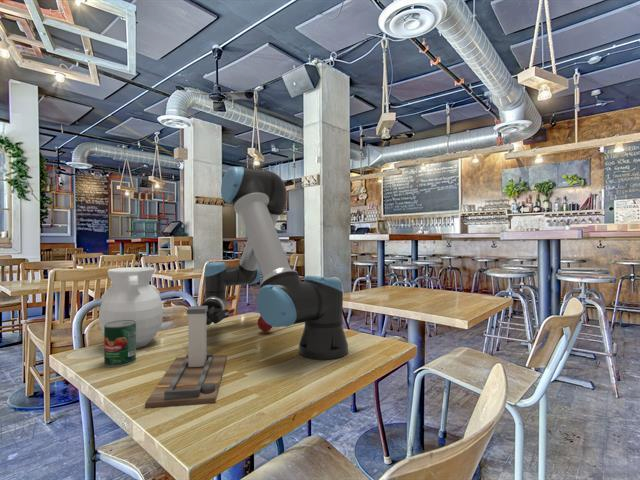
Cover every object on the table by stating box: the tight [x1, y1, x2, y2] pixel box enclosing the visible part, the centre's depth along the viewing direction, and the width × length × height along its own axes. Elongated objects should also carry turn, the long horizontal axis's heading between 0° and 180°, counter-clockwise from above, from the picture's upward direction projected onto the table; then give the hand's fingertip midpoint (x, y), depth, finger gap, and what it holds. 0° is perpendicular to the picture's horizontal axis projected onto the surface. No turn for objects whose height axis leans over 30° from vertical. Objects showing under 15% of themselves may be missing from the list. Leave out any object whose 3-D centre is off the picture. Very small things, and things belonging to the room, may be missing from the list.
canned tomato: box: [103, 320, 137, 368], centre depth 100 cm, size 8×8×11 cm
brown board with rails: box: [144, 353, 228, 409], centre depth 88 cm, size 28×14×2 cm, turn 10°
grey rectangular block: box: [186, 305, 208, 367], centre depth 95 cm, size 5×5×15 cm
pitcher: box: [98, 266, 164, 349], centre depth 116 cm, size 19×18×25 cm
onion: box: [257, 315, 274, 334], centre depth 131 cm, size 6×6×8 cm
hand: (201, 325), depth 101 cm, fingers closed
